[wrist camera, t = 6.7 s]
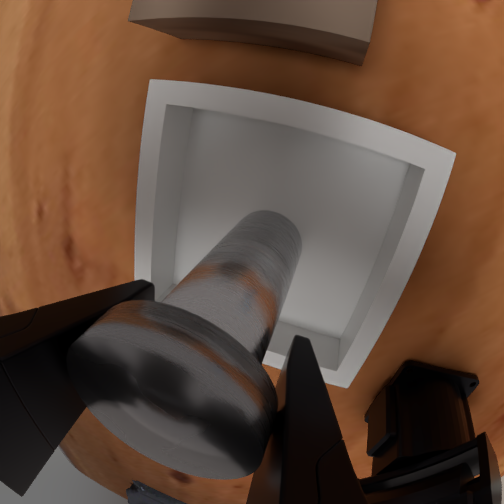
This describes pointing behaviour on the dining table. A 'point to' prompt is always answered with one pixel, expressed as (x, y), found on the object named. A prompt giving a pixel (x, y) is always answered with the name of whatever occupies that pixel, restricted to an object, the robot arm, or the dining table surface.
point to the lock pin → (196, 356)
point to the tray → (289, 206)
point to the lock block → (267, 23)
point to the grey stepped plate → (148, 495)
